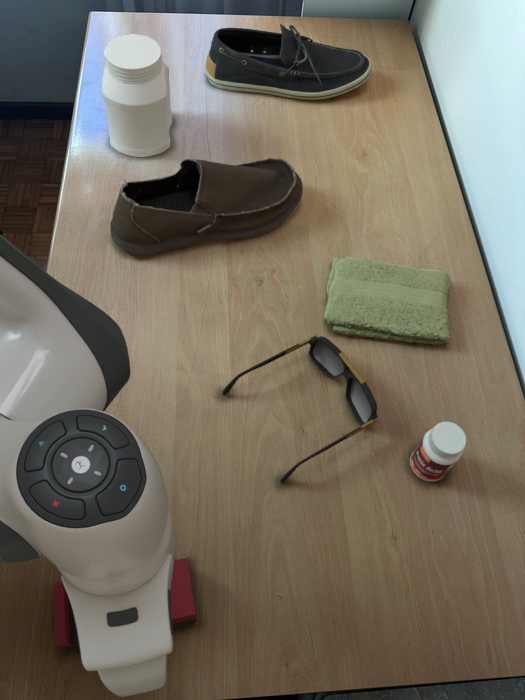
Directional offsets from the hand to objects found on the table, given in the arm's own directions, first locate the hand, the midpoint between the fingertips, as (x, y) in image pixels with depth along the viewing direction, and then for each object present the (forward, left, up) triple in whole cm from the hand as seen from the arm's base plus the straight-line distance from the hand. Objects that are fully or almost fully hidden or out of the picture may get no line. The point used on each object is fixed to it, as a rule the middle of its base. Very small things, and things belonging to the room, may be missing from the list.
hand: (134, 580), depth 63 cm
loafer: (+16, +52, -11) cm, 56 cm away
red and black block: (-2, 0, -11) cm, 11 cm away
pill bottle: (+36, +9, -11) cm, 39 cm away
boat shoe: (+35, +83, -11) cm, 91 cm away
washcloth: (+38, +33, -11) cm, 52 cm away
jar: (+8, +73, -11) cm, 75 cm away
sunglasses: (+22, +19, -11) cm, 32 cm away
